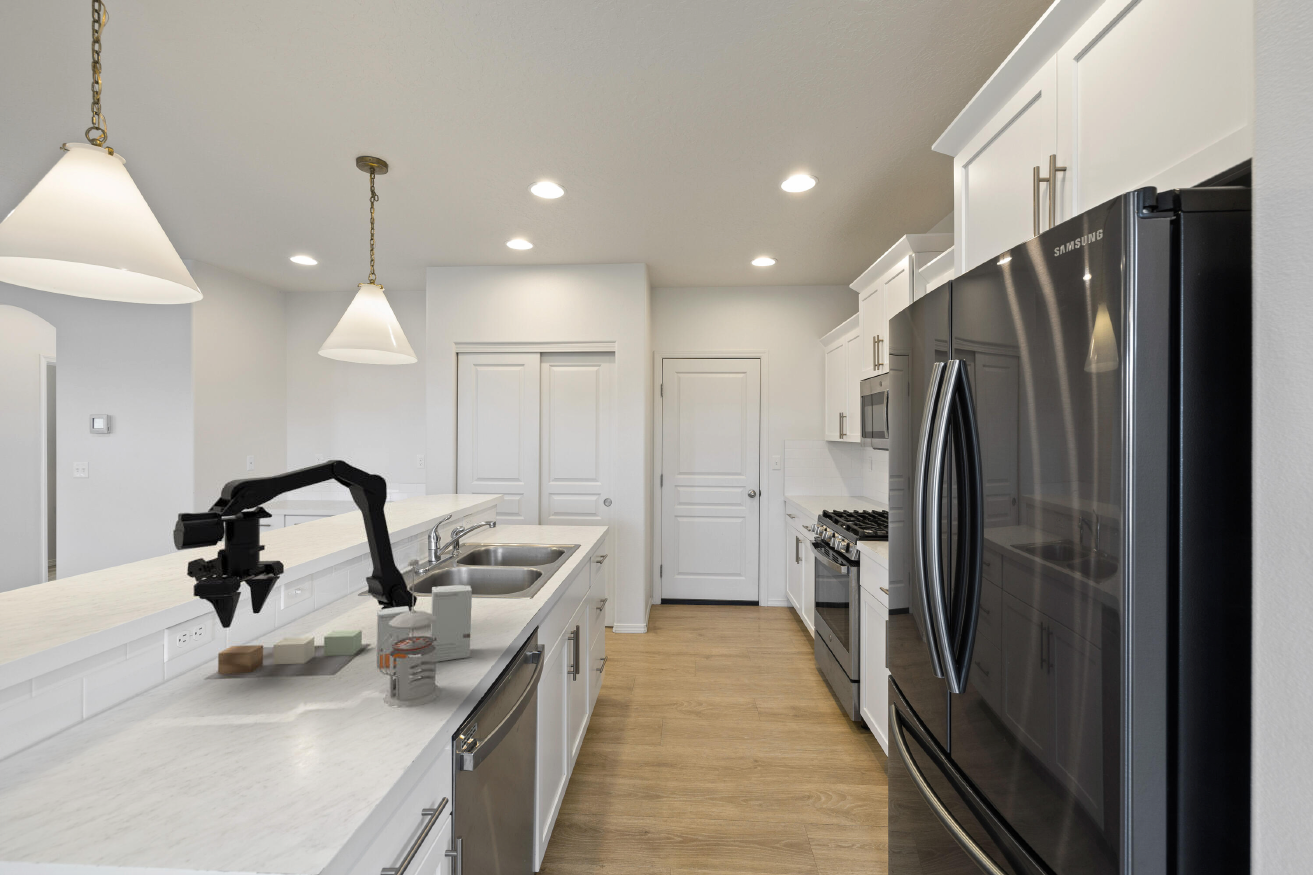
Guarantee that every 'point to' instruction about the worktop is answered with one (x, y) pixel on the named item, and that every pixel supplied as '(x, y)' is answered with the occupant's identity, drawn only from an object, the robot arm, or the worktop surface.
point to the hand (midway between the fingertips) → (242, 620)
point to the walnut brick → (240, 659)
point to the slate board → (295, 665)
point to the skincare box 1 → (384, 629)
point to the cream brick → (293, 650)
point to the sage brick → (342, 642)
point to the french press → (411, 660)
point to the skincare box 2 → (451, 621)
